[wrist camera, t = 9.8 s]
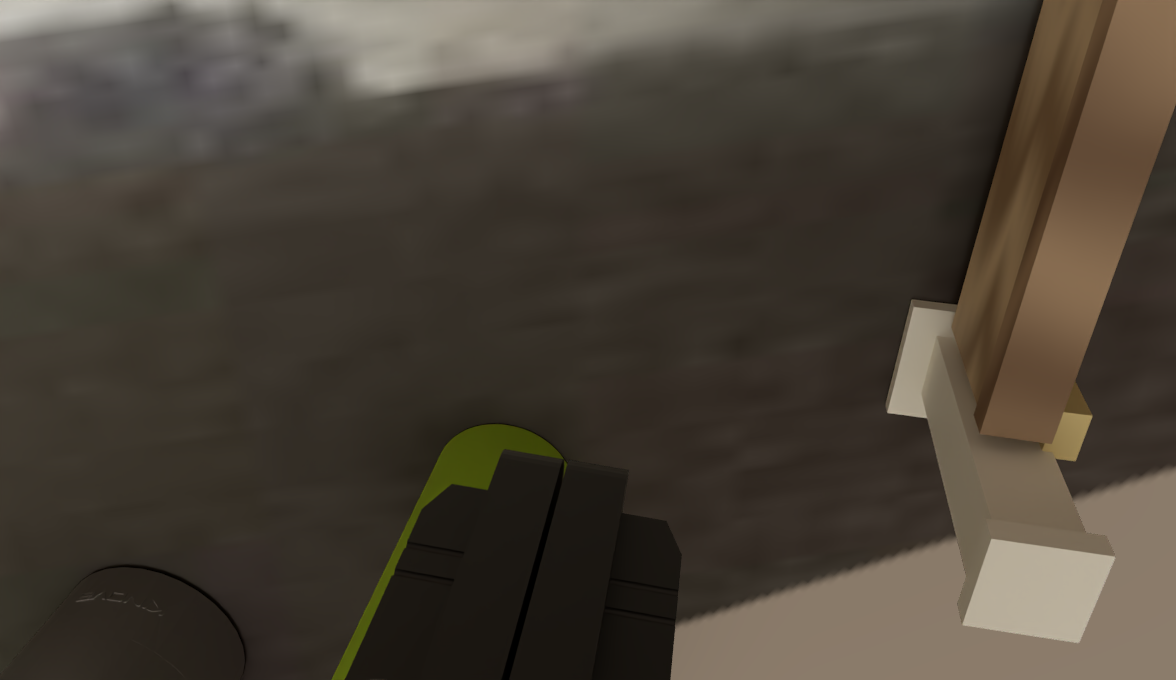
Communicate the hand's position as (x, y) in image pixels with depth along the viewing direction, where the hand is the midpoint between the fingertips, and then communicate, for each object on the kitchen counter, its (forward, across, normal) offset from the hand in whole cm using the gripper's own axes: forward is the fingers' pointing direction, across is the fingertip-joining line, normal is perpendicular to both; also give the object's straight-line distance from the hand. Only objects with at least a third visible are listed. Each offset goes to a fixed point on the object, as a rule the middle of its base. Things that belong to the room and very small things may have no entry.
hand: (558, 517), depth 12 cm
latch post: (+23, -12, +9) cm, 28 cm away
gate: (+22, -11, 0) cm, 25 cm away
